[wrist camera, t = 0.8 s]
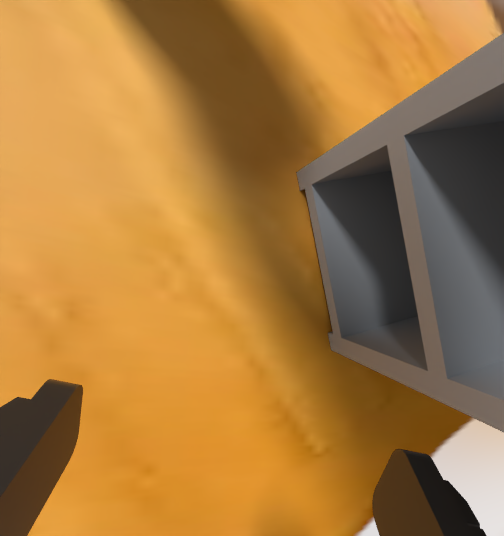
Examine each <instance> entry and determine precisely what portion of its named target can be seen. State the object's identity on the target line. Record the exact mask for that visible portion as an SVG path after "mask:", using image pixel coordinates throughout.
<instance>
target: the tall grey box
mask: <svg viewBox="0 0 504 536" xmlns="http://www.w3.org/2000/svg"><path fill="white" fill-rule="evenodd" d="M296 173H297V178H298V183H299V188H300V190H305V192H306V197H307V202H308V207H309V212H310V218H311V223H312V228H313V233H314V238H315V243H316V248H317V253H318V259H319V264H320V269H321V274H322V279H323V284H324V289H325V295H326V300H327V305H328V310H329V315H330V320H331V325H332V332H329V333H328V336H329V341H330V346H331V350H332V351H334V352H336V353H338V354H341V355H343V356H345V357H347V358H349V359H351V360H353V361H355V362H357V363H359V364H362V365H364V366H366V367H368V368H370V369H372V370H374V371H376V372H378V373H380V374H383V375H385V376H387V377H389V378H391V379H393V380H395V381H397V382H399V383H401V384H404V385H406V386H408V387H410V388H412V389H414V390H416V391H418V392H420V393H422V394H425V395H427V396H429V397H431V398H433V399H435V400H437V401H439V402H441V403H443V404H445V405H448V406H450V407H452V408H454V409H456V410H458V411H460V412H462V413H464V414H466V415H469V416H471V417H473V418H475V419H477V420H479V421H482V422H483V423H485V424H487V425H490V426H492V427H494V428H496V429H498V430H500V431H502V432H504V33H503V34H502V35H500V36H499V37H497V38H496V39H494V40H493V41H491V42H490V43H488V44H487V45H485V46H484V47H482V48H481V49H479V50H478V51H476V52H475V53H473V54H472V55H470V56H469V57H467V58H466V59H464V60H463V61H461V62H460V63H458V64H457V65H455V66H454V67H452V68H451V69H449V70H448V71H446V72H445V73H444V74H442V75H441V76H439V77H438V78H436V79H435V80H433V81H432V82H430V83H429V84H427V85H426V86H424V87H423V88H421V89H420V90H418V91H417V92H415V93H414V94H412V95H411V96H409V97H408V98H406V99H405V100H403V101H402V102H400V103H399V104H397V105H396V106H394V107H393V108H391V109H390V110H388V111H387V112H385V113H384V114H383V115H381V116H380V117H378V118H377V119H375V120H374V121H372V122H371V123H369V124H368V125H366V126H365V127H363V128H362V129H360V130H359V131H357V132H356V133H354V134H353V135H351V136H350V137H348V138H347V139H345V140H344V141H342V142H341V143H339V144H338V145H336V146H335V147H333V148H332V149H330V150H329V151H327V152H326V153H325V154H323V155H322V156H320V157H319V158H317V159H316V160H314V161H313V162H311V163H310V164H308V165H307V166H305V167H304V168H302V169H301V170H299V171H298V172H296Z"/></svg>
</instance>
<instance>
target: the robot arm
mask: <svg viewBox="0 0 504 536" xmlns="http://www.w3.org/2000/svg"><path fill="white" fill-rule="evenodd" d="M82 395H83V387H82V385H78V384H73V383H68V382H63V381H57V380H52V379H49V380H48V381H46V382H45V383H44V385H43V386H42V387H41V388H40V389H39V391H38V392H37V393H36V394H35V395H34V397H33V398H32V399H26V398H21V397H17V398H15V399H14V400H12V401H10V402H8V403H7V404H5V405H3V406H2V407H0V536H27V535H28V533H29V531H30V530H31V528H32V526H33V524H34V522H35V521H36V519H37V517H38V515H39V514H40V512H41V510H42V508H43V506H44V505H45V503H46V501H47V499H48V498H49V496H50V494H51V492H52V490H53V489H54V487H55V485H56V483H57V482H58V480H59V478H60V476H61V474H62V473H63V471H64V469H65V467H66V466H67V464H68V462H69V460H70V458H71V456H72V454H73V451H74V448H75V445H76V442H77V438H78V434H79V425H80V415H81V405H82ZM373 515H374V519H375V522H376V525H377V529H378V532H379V535H380V536H486V534H485V532H484V531H483V529H480V524H479V522H478V520H477V519H476V517H475V515H474V513H473V512H472V510H471V508H470V507H469V505H468V503H467V501H466V500H465V499H464V498H463V497H462V496H461V495H460V494H459V493H458V491H457V490H456V489H455V488H454V487H453V486H452V485H451V484H450V483H449V481H446V480H443V478H442V476H441V475H440V473H439V471H438V469H437V467H436V466H435V464H434V462H433V460H432V459H431V457H430V456H428V455H427V454H423V453H417V452H412V451H407V450H402V449H396V450H395V451H394V452H393V453H392V455H391V457H390V459H389V461H388V463H387V465H386V468H385V470H384V472H383V474H382V476H381V478H380V480H379V482H378V484H377V486H376V488H375V491H374V494H373Z"/></svg>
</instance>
